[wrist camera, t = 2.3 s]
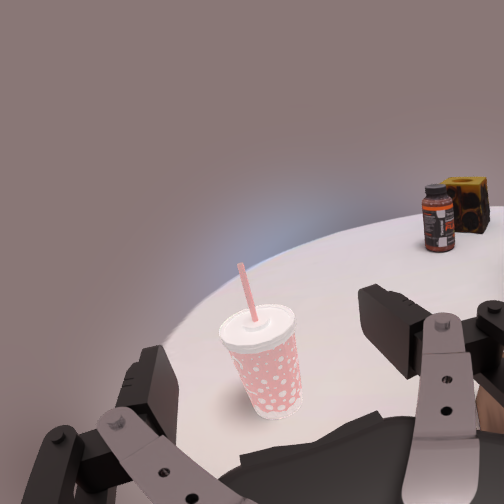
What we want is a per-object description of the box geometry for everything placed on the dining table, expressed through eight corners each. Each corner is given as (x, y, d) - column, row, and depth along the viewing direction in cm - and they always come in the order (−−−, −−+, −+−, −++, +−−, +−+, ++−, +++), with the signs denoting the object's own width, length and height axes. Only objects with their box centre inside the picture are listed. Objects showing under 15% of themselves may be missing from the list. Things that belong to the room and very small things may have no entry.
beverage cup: (249, 385, 30) (208, 258, 26) (308, 376, 29) (281, 243, 25) (243, 429, 24) (190, 288, 20) (313, 420, 23) (282, 270, 19)
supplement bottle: (451, 254, 45) (447, 188, 42) (421, 252, 50) (415, 189, 47) (457, 242, 49) (453, 182, 46) (430, 241, 53) (424, 183, 50)
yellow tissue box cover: (483, 234, 49) (480, 184, 46) (440, 231, 57) (435, 184, 54) (491, 220, 54) (488, 176, 51) (453, 218, 62) (449, 176, 59)
